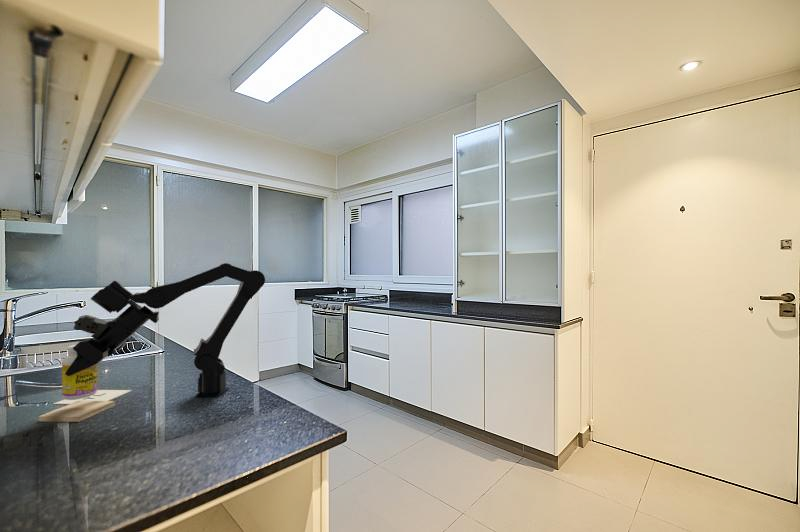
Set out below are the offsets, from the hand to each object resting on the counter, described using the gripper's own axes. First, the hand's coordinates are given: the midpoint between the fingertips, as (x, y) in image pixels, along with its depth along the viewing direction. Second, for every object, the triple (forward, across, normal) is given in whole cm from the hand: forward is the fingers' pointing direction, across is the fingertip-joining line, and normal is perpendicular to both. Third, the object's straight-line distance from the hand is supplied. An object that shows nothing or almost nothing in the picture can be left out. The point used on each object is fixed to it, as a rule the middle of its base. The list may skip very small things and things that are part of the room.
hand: (73, 371), depth 88 cm
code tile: (+7, -12, +8) cm, 16 cm away
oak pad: (+7, 0, +8) cm, 11 cm away
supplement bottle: (+4, 0, +6) cm, 7 cm away
